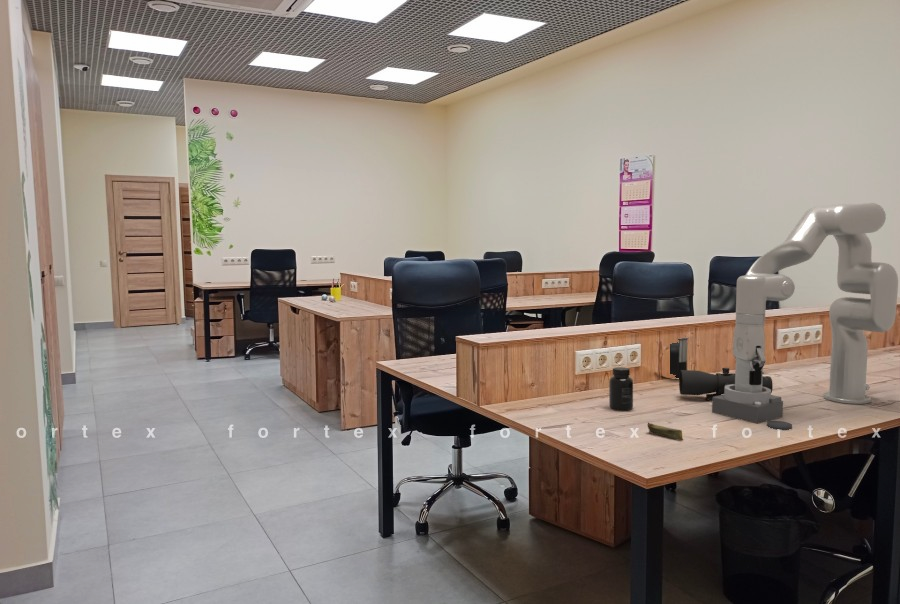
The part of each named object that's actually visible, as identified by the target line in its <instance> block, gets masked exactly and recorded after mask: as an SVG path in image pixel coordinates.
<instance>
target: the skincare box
mask: <svg viewBox="0 0 900 604" xmlns="http://www.w3.org/2000/svg"><path fill="white" fill-rule="evenodd" d="M756 359H758V358H756V357H754V358H753V359H752V360H756ZM755 364H756V363H754V366H755ZM750 371H751V367H750V362H749V361H744V360H741V359H739V358H737V354H736V358H735V373H734V374H735V390H736V391H741V392H750V393H758V392H762V382H761V385H750V384H749V373H750ZM763 373H764V370H763V371H762V376H764V374H763Z"/></svg>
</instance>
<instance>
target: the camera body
mask: <svg viewBox="0 0 900 604" xmlns="http://www.w3.org/2000/svg"><path fill="white" fill-rule="evenodd" d="M783 412H784V401H783V400H782V396H779V395H774V394H773V395H772V393H771V389H769V388H766V387H763V386H762V392H758V393H750V392H741V391H736V390H735V384H731V385H726V386H725V388H724V394H721V395H720V396H715V397H712V401H711V413H712V414H713V413H714V414H716V415H717V414H718V415H720V416H725V417H730V418H734V419H737V418H738V420H741V419H742V420H741V421H745V422H749V423H753V424H760V423H761V424H762V423H764V422H768V421H773V420H775V419H779V418H783Z"/></svg>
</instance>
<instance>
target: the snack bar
mask: <svg viewBox="0 0 900 604" xmlns="http://www.w3.org/2000/svg"><path fill="white" fill-rule="evenodd" d="M647 429H648V432H649V433H650V434H653V435H658V436H663V437H666V438H671V439H674V440H677V439H678V440H677V441H684V439H683V431H682V430H681V429H677V428H673V427H667V426H664V425H659V424H654V423H651V422H647Z"/></svg>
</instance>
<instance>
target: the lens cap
mask: <svg viewBox="0 0 900 604" xmlns="http://www.w3.org/2000/svg"><path fill="white" fill-rule="evenodd" d="M767 426H768V427H767ZM766 427H767V428H769V427H770V428H769V429H772V428H773V429H772V430H777V429H782V430H781V431H790V430H789V429H791V430H792V429H793V424H792V423H791V422H788V421H783V420H769V421H766Z"/></svg>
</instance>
